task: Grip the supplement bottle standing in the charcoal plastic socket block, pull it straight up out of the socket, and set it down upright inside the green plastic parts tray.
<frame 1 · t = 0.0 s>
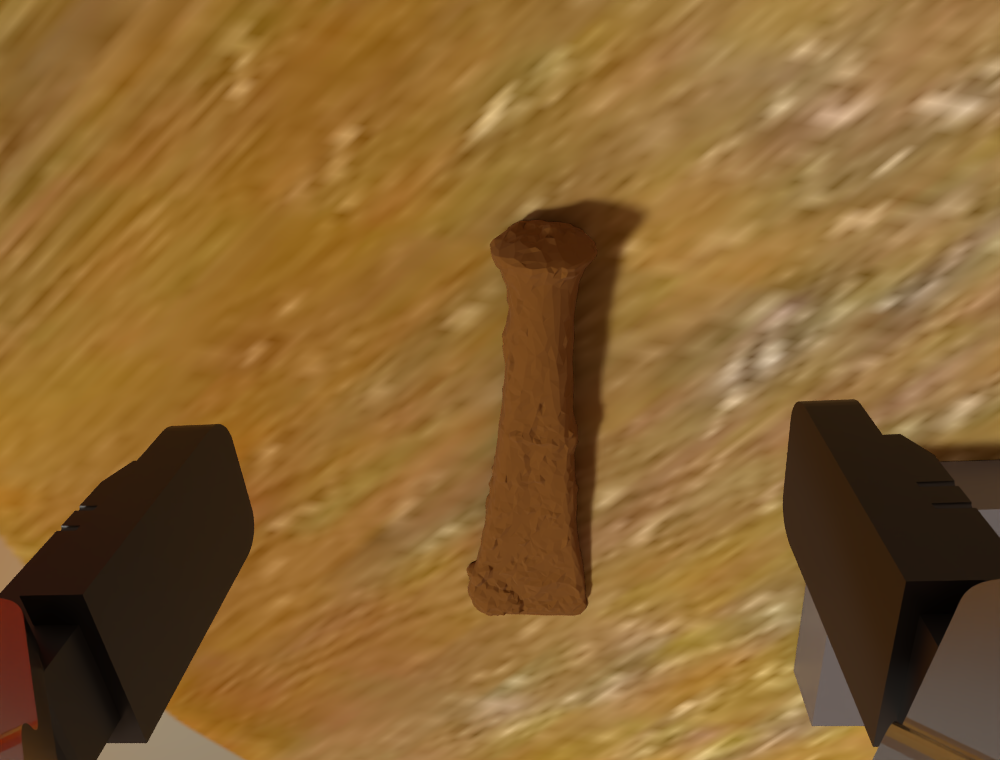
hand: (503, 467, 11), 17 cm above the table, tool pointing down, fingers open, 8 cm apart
socket block: (950, 574, 33), on the table
primitive tool: (542, 442, 32), on the table
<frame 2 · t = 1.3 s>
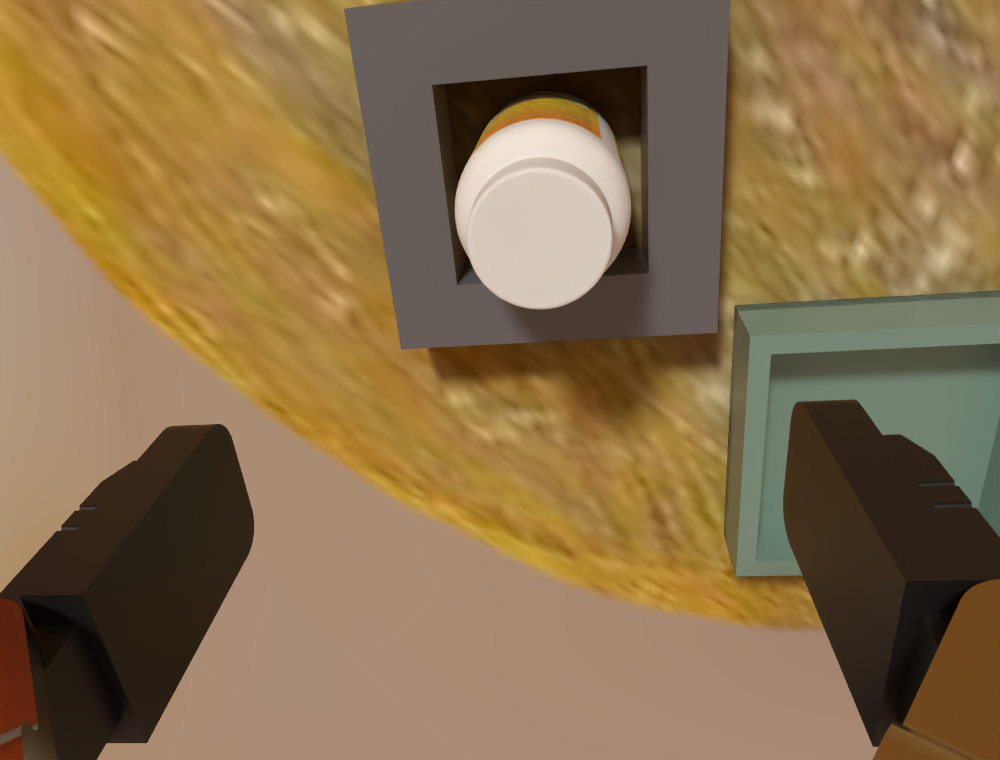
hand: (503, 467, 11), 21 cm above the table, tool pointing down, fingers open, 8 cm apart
socket block: (547, 164, 29), on the table
supplement bottle: (547, 163, 29), resting in socket block
parts tray: (867, 422, 33), on the table
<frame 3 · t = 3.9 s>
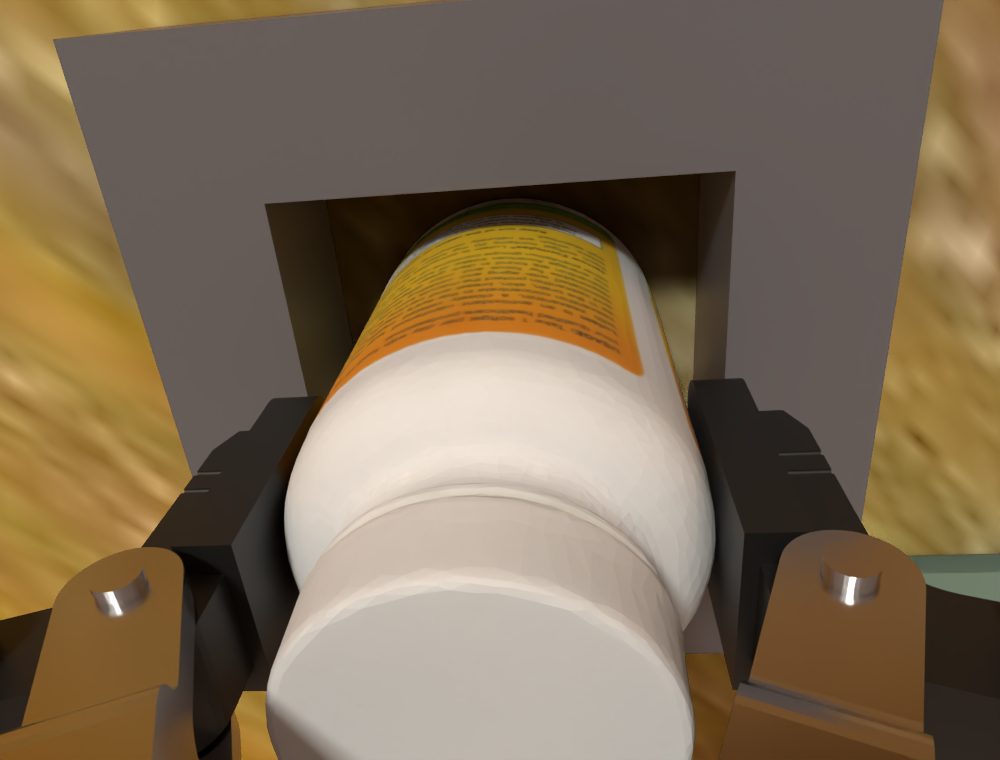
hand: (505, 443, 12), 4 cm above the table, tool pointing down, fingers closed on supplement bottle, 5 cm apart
socket block: (519, 325, 16), on the table
supplement bottle: (519, 321, 16), resting in socket block, touching gripper
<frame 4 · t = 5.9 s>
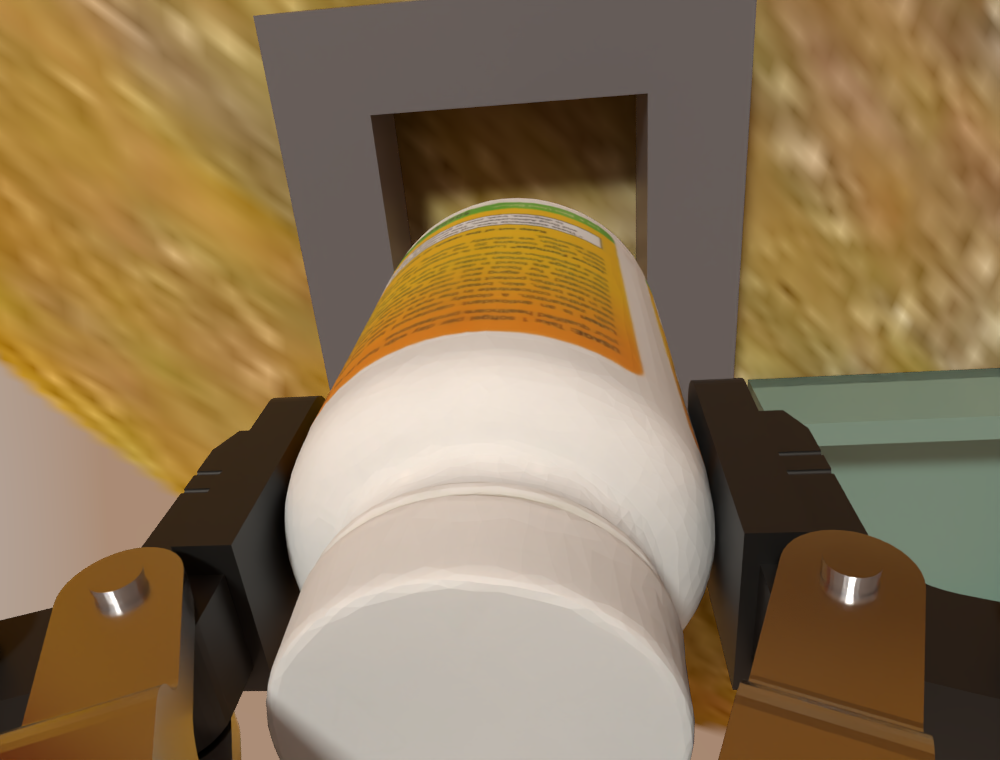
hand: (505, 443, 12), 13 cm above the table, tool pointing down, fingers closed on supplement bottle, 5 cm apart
socket block: (520, 210, 24), on the table
supplement bottle: (519, 320, 16), point 9 cm above the table, touching gripper
parts tray: (902, 514, 28), on the table
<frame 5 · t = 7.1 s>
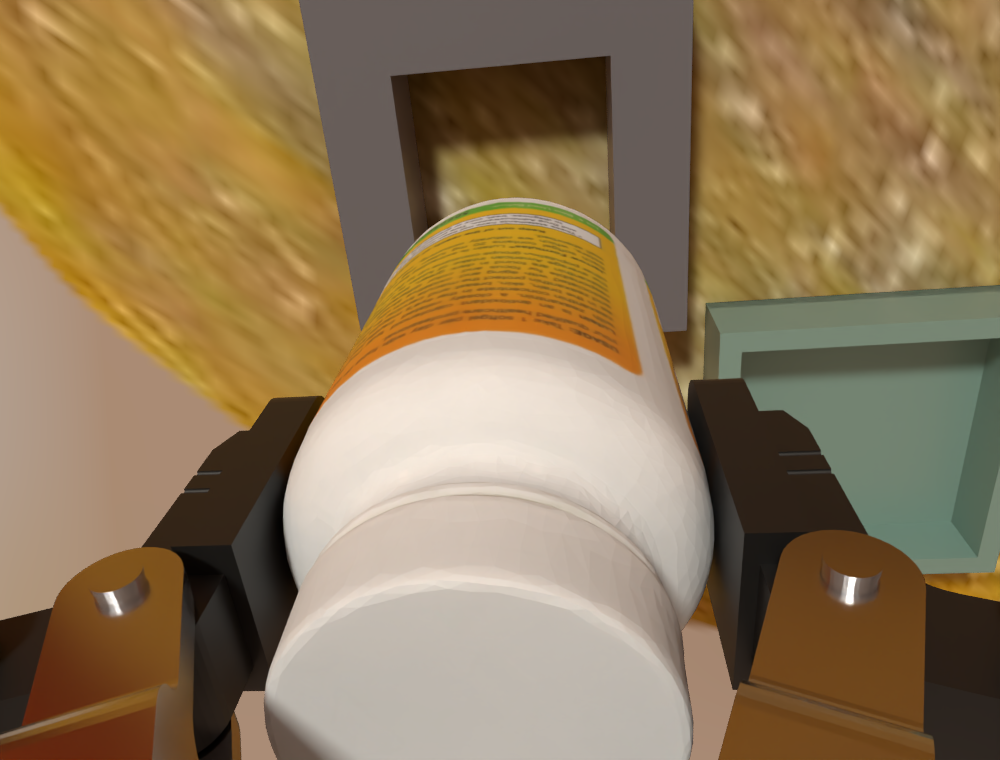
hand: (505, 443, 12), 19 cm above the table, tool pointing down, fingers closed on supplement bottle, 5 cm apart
socket block: (512, 159, 29), on the table
supplement bottle: (518, 320, 16), point 15 cm above the table, touching gripper
parts tray: (841, 422, 33), on the table
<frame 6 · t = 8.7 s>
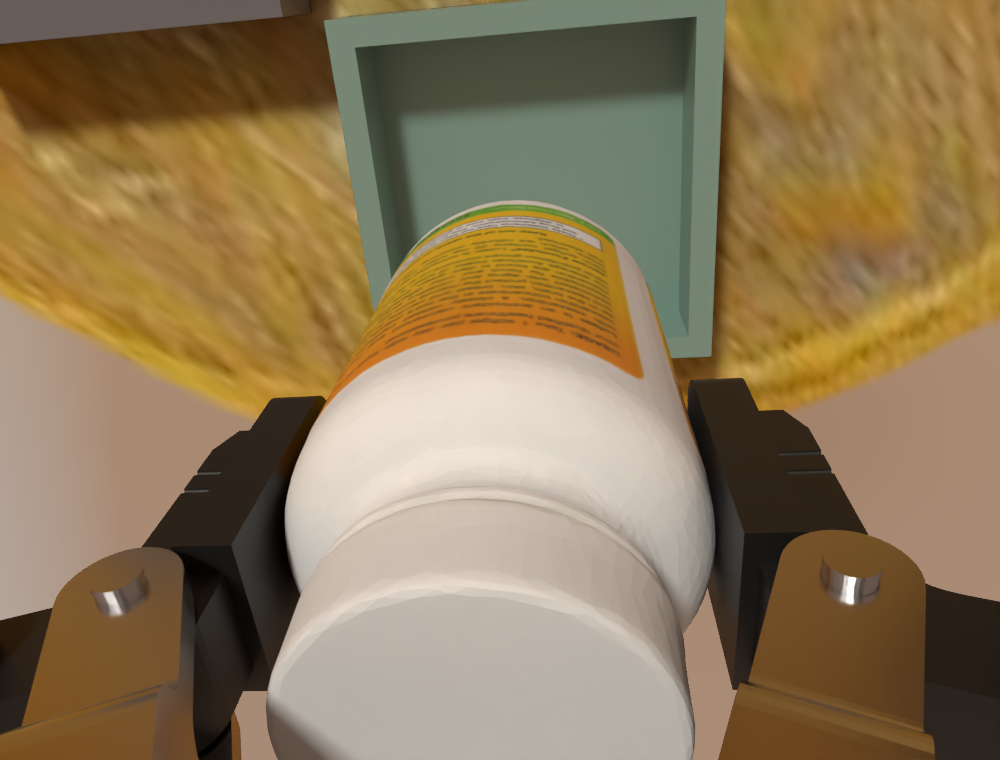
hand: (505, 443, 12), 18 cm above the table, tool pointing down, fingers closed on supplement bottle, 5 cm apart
supplement bottle: (519, 322, 16), point 13 cm above the table, touching gripper
parts tray: (535, 180, 27), on the table
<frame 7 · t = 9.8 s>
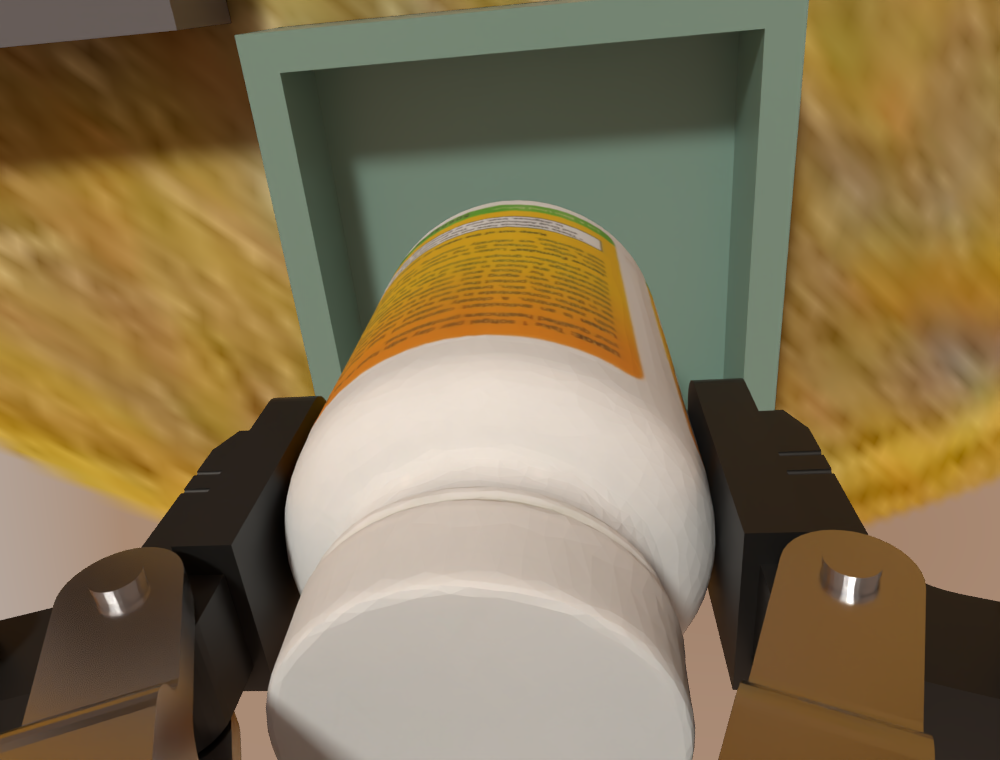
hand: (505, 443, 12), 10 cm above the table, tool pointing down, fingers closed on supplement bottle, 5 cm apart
supplement bottle: (519, 323, 16), point 6 cm above the table, touching gripper
parts tray: (535, 242, 21), on the table
when the fingers open (7 cm above the table, at t = 11.4 s): supplement bottle drops 1 cm, resting on parts tray.
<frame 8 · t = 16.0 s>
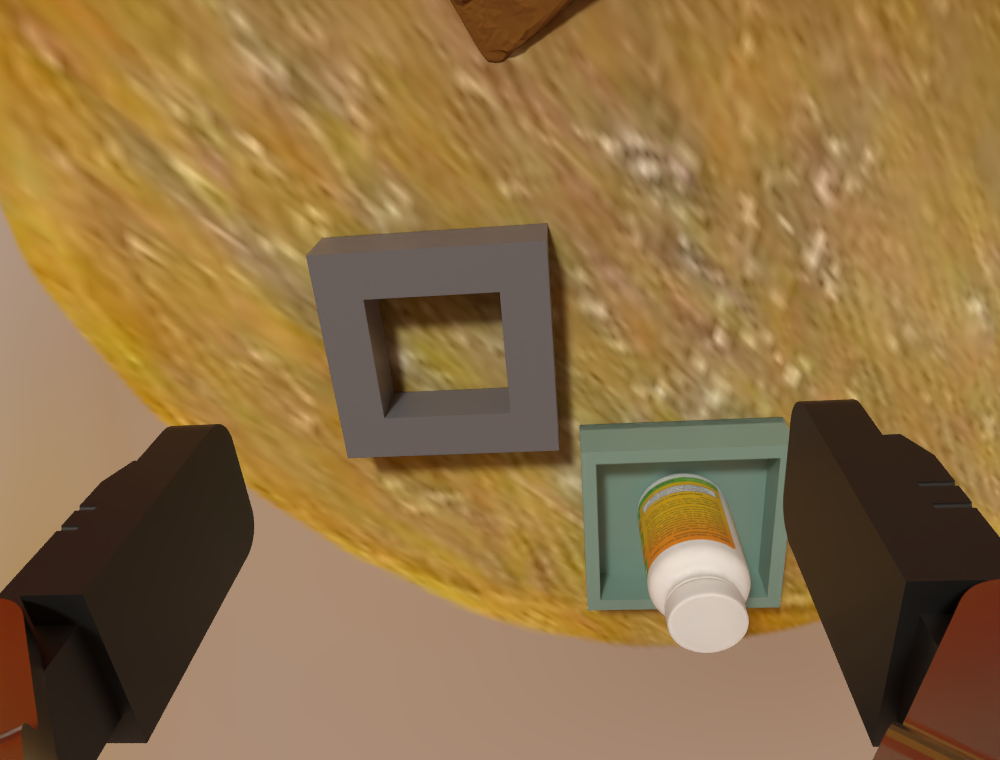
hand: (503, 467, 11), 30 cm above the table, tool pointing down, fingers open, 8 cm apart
socket block: (446, 335, 43), on the table
supplement bottle: (680, 505, 47), resting on parts tray
parts tray: (677, 502, 48), on the table
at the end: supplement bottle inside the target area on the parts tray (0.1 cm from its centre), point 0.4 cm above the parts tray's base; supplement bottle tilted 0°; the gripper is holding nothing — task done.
